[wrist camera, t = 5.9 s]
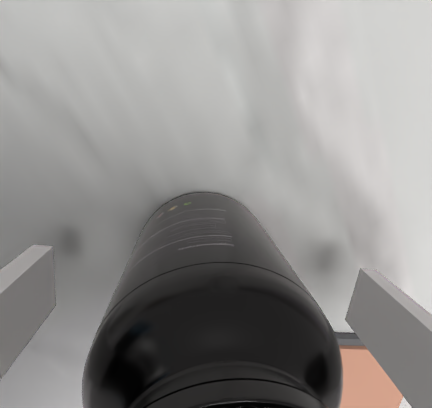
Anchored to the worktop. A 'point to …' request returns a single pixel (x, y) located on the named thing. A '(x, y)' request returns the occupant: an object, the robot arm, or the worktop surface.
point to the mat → (364, 377)
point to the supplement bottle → (211, 320)
